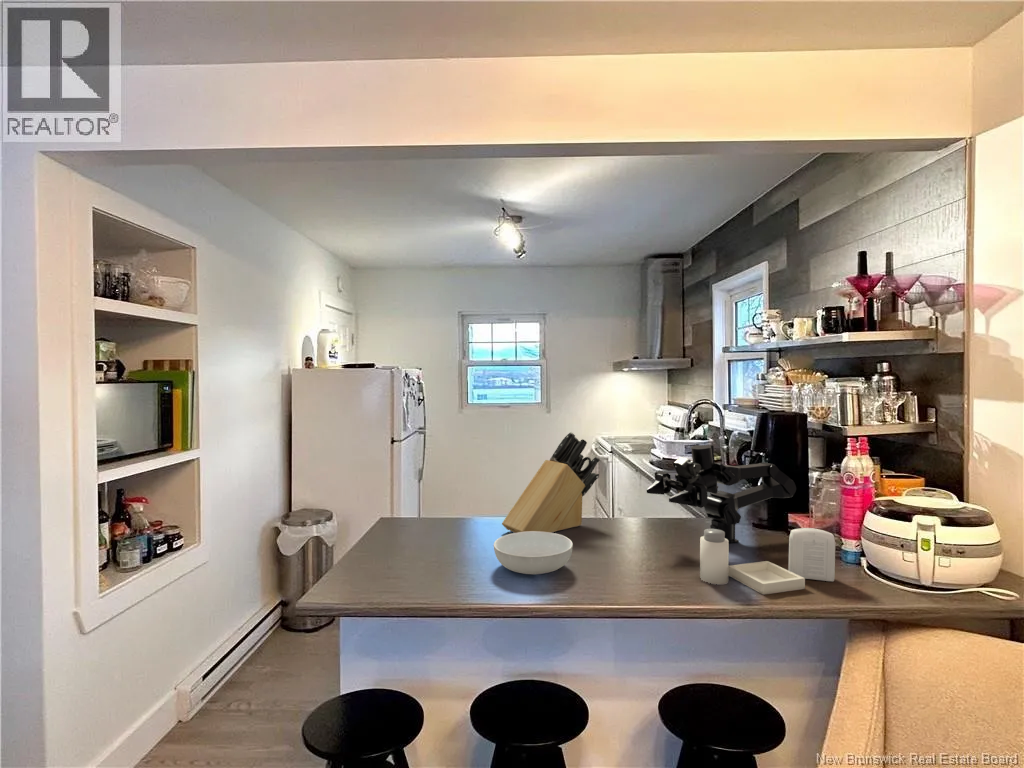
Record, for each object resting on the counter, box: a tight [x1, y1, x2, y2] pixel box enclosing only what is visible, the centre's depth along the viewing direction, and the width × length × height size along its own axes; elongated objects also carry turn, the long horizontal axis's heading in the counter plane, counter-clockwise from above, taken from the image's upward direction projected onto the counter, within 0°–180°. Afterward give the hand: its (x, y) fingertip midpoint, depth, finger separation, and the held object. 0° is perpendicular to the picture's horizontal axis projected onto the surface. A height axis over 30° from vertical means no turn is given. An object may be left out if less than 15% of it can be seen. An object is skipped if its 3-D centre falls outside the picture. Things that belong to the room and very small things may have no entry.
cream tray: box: [728, 560, 806, 595], centre depth 129 cm, size 12×12×2 cm
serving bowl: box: [493, 531, 574, 575], centre depth 139 cm, size 21×21×7 cm
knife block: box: [501, 431, 600, 533], centre depth 175 cm, size 11×35×31 cm, turn 127°
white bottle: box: [699, 528, 730, 586], centre depth 131 cm, size 7×7×12 cm
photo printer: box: [787, 527, 836, 583], centre depth 132 cm, size 10×4×12 cm, turn 72°
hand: (657, 495), depth 150 cm, fingers open, 9 cm apart
